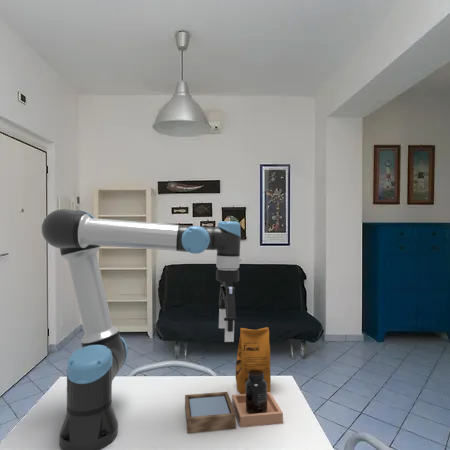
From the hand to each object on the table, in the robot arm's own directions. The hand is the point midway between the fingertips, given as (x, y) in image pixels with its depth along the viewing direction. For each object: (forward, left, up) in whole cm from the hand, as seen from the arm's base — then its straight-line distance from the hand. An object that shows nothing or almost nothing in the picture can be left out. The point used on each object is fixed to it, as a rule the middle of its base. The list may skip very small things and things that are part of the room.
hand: (225, 334), depth 109 cm
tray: (+9, -5, -24) cm, 26 cm away
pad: (-6, -5, -22) cm, 23 cm away
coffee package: (+12, +11, -24) cm, 29 cm away
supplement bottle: (+9, -5, -23) cm, 25 cm away
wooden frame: (-6, -5, -24) cm, 25 cm away
